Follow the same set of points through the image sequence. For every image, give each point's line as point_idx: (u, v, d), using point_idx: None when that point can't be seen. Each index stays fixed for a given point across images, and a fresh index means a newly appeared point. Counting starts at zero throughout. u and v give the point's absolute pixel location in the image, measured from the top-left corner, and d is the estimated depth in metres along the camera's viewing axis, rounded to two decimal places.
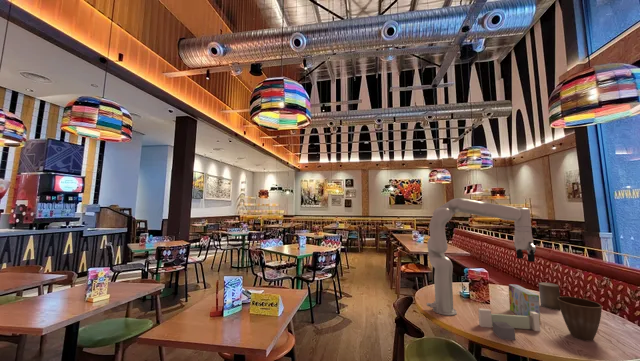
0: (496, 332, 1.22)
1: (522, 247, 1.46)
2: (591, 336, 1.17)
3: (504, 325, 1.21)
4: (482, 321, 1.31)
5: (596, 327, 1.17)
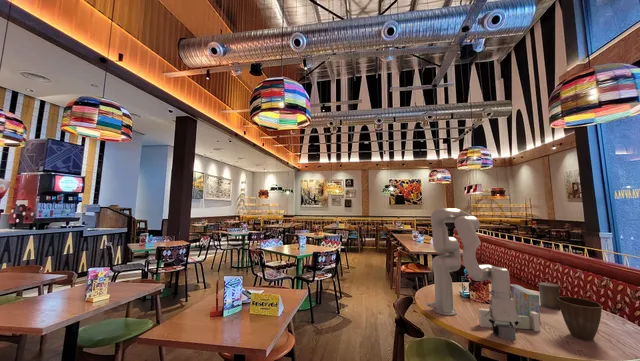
0: None
1: (512, 319, 1.19)
2: (591, 336, 1.17)
3: (504, 325, 1.21)
4: (482, 321, 1.31)
5: (596, 327, 1.17)
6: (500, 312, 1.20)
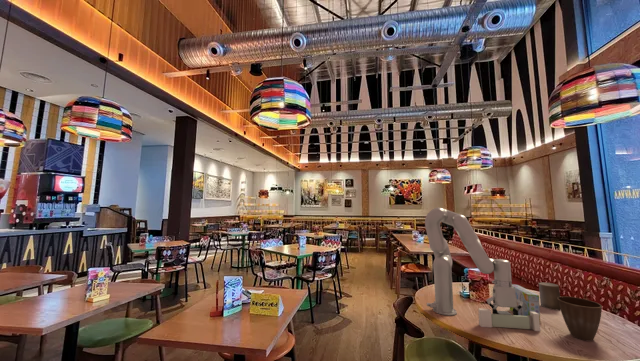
0: None
1: (513, 305, 1.34)
2: (591, 336, 1.17)
3: (505, 313, 1.36)
4: (482, 321, 1.31)
5: (596, 327, 1.17)
6: (502, 299, 1.35)
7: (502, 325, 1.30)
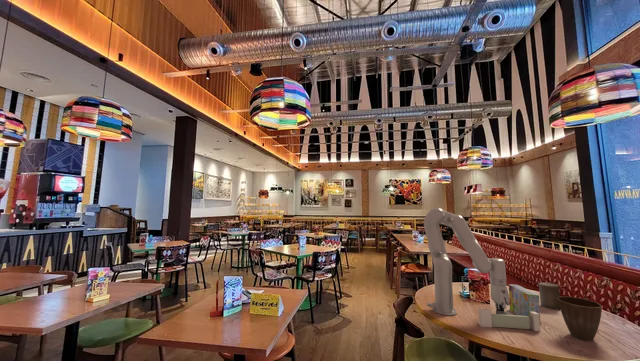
0: None
1: None
2: (591, 336, 1.17)
3: (506, 313, 1.35)
4: (482, 321, 1.31)
5: (596, 327, 1.17)
6: None
7: (502, 325, 1.30)
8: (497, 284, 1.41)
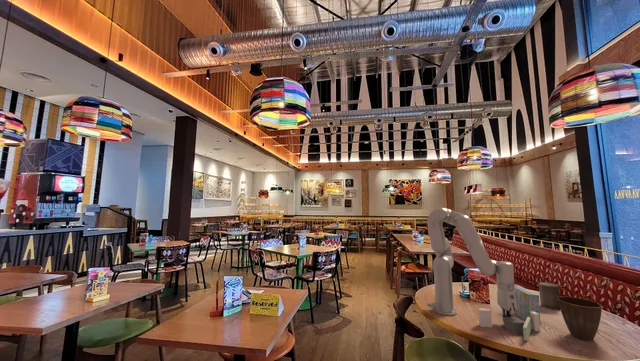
0: (508, 327, 1.28)
1: None
2: (591, 336, 1.17)
3: (515, 320, 1.28)
4: (482, 321, 1.31)
5: (596, 327, 1.17)
6: None
7: (528, 335, 1.19)
8: (505, 289, 1.33)
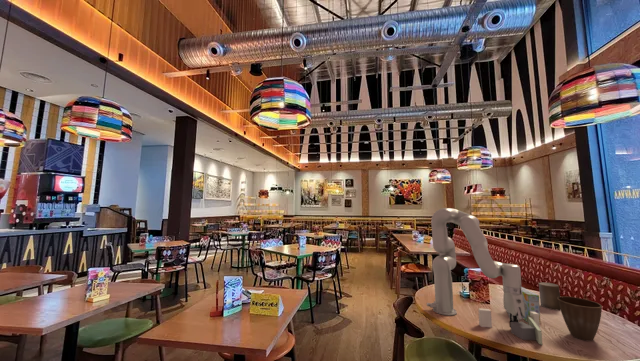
0: (516, 332, 1.22)
1: None
2: (591, 336, 1.17)
3: (523, 325, 1.22)
4: (482, 321, 1.31)
5: (596, 327, 1.17)
6: None
7: None
8: (511, 293, 1.27)
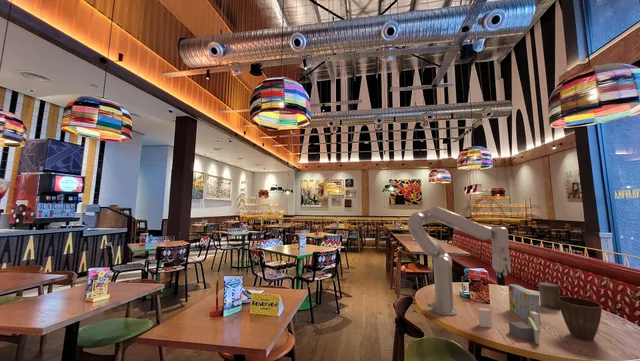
0: (514, 332, 1.22)
1: None
2: (591, 336, 1.17)
3: (522, 325, 1.22)
4: (482, 321, 1.31)
5: (596, 327, 1.17)
6: None
7: None
8: (499, 252, 1.38)
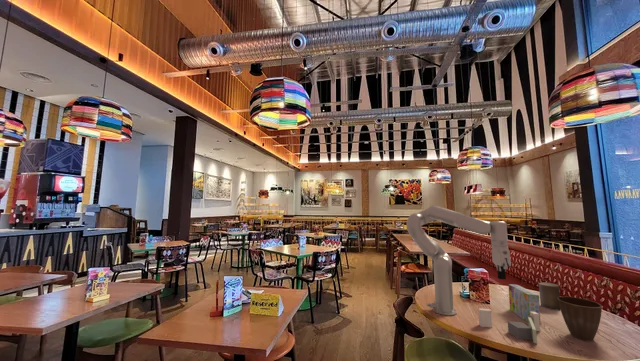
0: (512, 332, 1.23)
1: None
2: (591, 336, 1.17)
3: (520, 325, 1.22)
4: (482, 321, 1.31)
5: (596, 327, 1.17)
6: None
7: None
8: (498, 246, 1.39)
